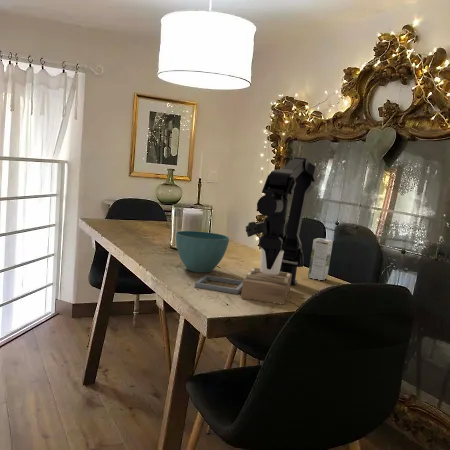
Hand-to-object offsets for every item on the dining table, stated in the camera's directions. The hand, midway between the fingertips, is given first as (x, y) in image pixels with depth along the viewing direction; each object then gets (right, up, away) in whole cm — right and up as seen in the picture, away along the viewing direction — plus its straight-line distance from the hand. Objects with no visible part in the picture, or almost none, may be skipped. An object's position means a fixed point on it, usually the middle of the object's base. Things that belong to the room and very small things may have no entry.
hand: (270, 267), depth 143 cm
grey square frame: (-14, -6, +4) cm, 16 cm away
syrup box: (+20, -7, +32) cm, 39 cm away
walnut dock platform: (-1, -8, +1) cm, 8 cm away
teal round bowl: (-22, -3, +24) cm, 33 cm away
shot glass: (0, -2, 0) cm, 2 cm away
